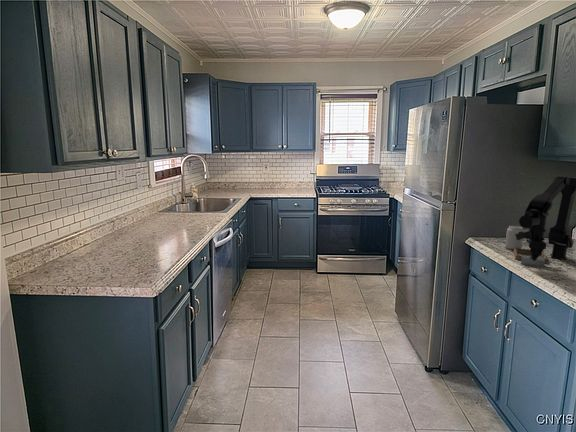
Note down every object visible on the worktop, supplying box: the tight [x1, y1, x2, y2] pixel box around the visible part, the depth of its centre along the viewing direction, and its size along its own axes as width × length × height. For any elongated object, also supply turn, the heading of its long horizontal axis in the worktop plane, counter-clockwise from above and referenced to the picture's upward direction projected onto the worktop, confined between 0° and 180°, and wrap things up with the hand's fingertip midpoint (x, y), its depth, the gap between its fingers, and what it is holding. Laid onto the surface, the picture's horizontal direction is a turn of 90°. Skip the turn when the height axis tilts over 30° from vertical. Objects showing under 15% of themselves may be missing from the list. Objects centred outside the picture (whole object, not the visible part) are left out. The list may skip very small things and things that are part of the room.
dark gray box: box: [520, 254, 546, 269], centre depth 171 cm, size 5×9×4 cm, turn 57°
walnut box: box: [513, 248, 548, 264], centre depth 182 cm, size 15×13×2 cm
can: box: [504, 225, 524, 251], centre depth 196 cm, size 8×8×12 cm
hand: (533, 258), depth 171 cm, fingers open, 7 cm apart
